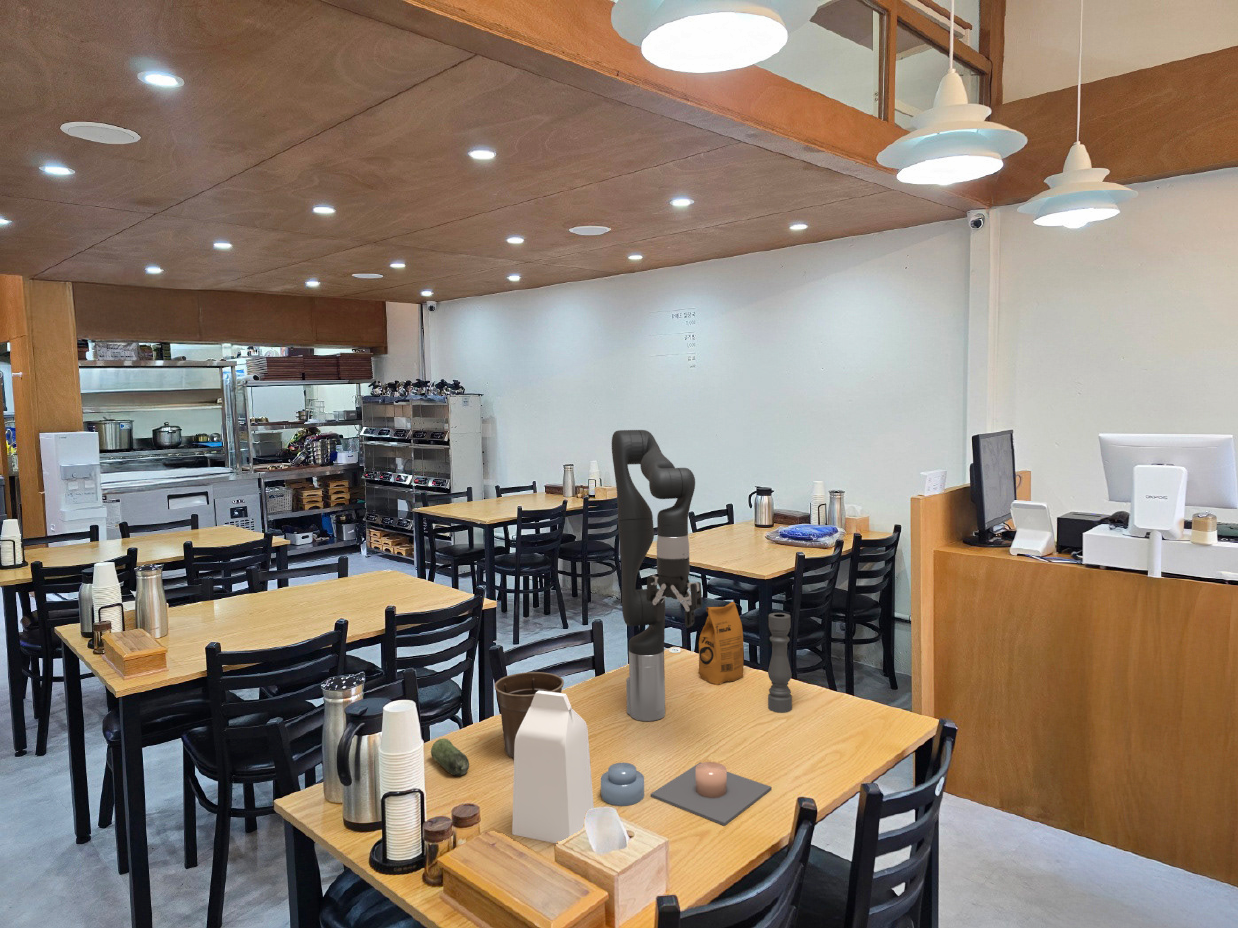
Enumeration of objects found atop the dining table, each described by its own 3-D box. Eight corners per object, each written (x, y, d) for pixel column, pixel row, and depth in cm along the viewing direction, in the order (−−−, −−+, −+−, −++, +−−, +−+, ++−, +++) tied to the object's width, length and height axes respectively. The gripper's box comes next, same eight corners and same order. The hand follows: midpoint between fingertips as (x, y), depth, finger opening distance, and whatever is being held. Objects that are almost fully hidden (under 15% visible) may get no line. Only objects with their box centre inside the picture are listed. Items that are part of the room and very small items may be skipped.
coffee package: (694, 677, 228) (693, 604, 227) (726, 669, 235) (725, 598, 233) (715, 687, 220) (714, 611, 218) (748, 678, 226) (747, 605, 225)
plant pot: (528, 729, 193) (527, 666, 192) (579, 744, 184) (577, 678, 183) (482, 753, 180) (479, 686, 179) (533, 771, 170) (531, 700, 169)
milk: (512, 834, 145) (508, 700, 143) (539, 804, 156) (536, 679, 154) (569, 845, 141) (566, 708, 139) (594, 814, 152) (591, 686, 150)
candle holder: (793, 705, 205) (792, 613, 204) (790, 713, 200) (790, 619, 198) (769, 702, 208) (769, 611, 206) (766, 711, 202) (765, 617, 200)
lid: (689, 791, 159) (689, 770, 159) (706, 779, 164) (706, 759, 164) (715, 800, 155) (715, 779, 155) (732, 788, 160) (732, 767, 159)
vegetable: (428, 759, 177) (427, 738, 177) (449, 753, 180) (448, 733, 180) (452, 783, 166) (451, 760, 166) (474, 775, 169) (473, 754, 169)
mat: (650, 796, 158) (650, 793, 158) (700, 764, 172) (700, 762, 172) (724, 825, 147) (724, 822, 147) (771, 789, 160) (771, 786, 160)
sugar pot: (592, 796, 159) (591, 770, 158) (620, 779, 166) (619, 755, 165) (625, 810, 153) (624, 783, 153) (653, 792, 160) (652, 767, 159)
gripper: (638, 553, 179) (640, 621, 180) (688, 560, 169) (689, 632, 171) (658, 548, 184) (659, 615, 185) (707, 555, 175) (708, 624, 176)
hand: (674, 623), depth 178 cm, fingers open, 8 cm apart
